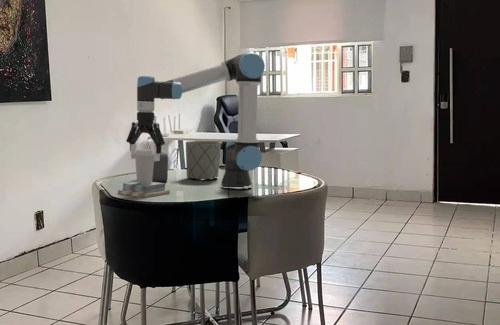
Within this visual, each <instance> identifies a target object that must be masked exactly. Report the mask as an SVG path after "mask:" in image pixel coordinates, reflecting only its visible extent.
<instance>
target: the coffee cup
mask: <svg viewBox="0 0 500 325" xmlns="http://www.w3.org/2000/svg"><path fill="white" fill-rule="evenodd" d="M134 155H135V160H134V161H135V172H136V173H135V174H136V182H137V184H152V177H153V167H154V149H149V148H148V149H147V148H146V149H145V148H136V151H135V153H134Z"/></svg>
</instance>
